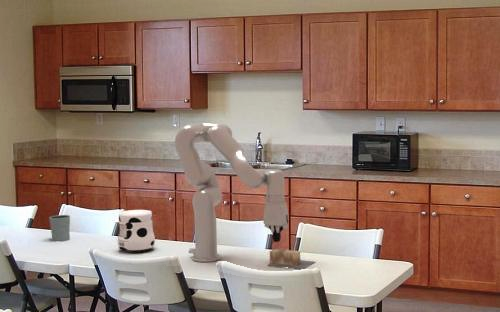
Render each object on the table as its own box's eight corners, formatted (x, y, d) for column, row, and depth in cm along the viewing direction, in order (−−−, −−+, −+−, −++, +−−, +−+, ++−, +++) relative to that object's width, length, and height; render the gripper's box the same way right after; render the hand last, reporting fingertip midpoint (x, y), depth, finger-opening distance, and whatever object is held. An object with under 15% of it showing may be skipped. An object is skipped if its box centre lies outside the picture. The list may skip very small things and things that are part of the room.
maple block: (269, 251, 323) (295, 253, 317) (274, 248, 327) (300, 251, 321) (269, 262, 323) (295, 265, 318) (274, 260, 327) (300, 262, 322)
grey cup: (65, 242, 377) (63, 218, 376) (46, 241, 379) (45, 217, 378) (74, 238, 387) (73, 214, 386) (56, 237, 389) (55, 214, 388)
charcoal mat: (267, 266, 319) (267, 265, 319) (281, 259, 331) (281, 258, 331) (302, 269, 311) (302, 268, 311) (315, 262, 324) (315, 261, 324)
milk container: (158, 246, 363) (157, 209, 361) (150, 254, 346) (149, 215, 344) (123, 246, 364) (122, 209, 363) (113, 254, 347) (112, 215, 346)
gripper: (256, 199, 322) (257, 241, 324) (288, 201, 315) (288, 244, 317) (263, 196, 329) (265, 238, 330) (295, 198, 322) (296, 241, 323)
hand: (276, 241), depth 323 cm, fingers closed
